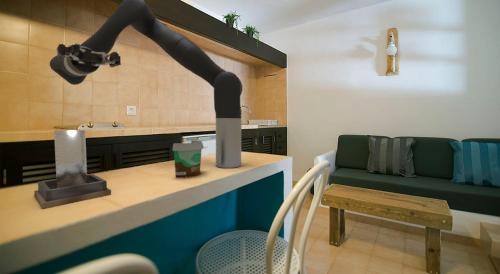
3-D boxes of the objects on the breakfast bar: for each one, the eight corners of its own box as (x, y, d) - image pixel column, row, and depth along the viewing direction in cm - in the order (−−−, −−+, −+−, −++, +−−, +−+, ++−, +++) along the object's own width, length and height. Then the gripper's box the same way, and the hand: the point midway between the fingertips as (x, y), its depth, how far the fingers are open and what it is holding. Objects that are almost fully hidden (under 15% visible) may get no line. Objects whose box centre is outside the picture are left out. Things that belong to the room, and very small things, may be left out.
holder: (95, 184, 58) (94, 173, 57) (111, 194, 50) (110, 180, 50) (34, 195, 49) (33, 181, 49) (42, 208, 42) (41, 192, 42)
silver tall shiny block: (72, 186, 53) (69, 129, 52) (93, 187, 52) (91, 130, 51) (50, 193, 47) (47, 130, 46) (73, 194, 47) (71, 131, 46)
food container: (193, 180, 63) (192, 144, 62) (172, 178, 64) (172, 143, 64) (209, 170, 75) (209, 140, 74) (192, 169, 76) (192, 139, 76)
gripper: (50, 43, 65) (62, 28, 54) (107, 54, 75) (127, 44, 65) (51, 70, 65) (64, 60, 55) (107, 77, 76) (127, 71, 65)
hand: (98, 51), depth 60 cm, fingers open, 8 cm apart
